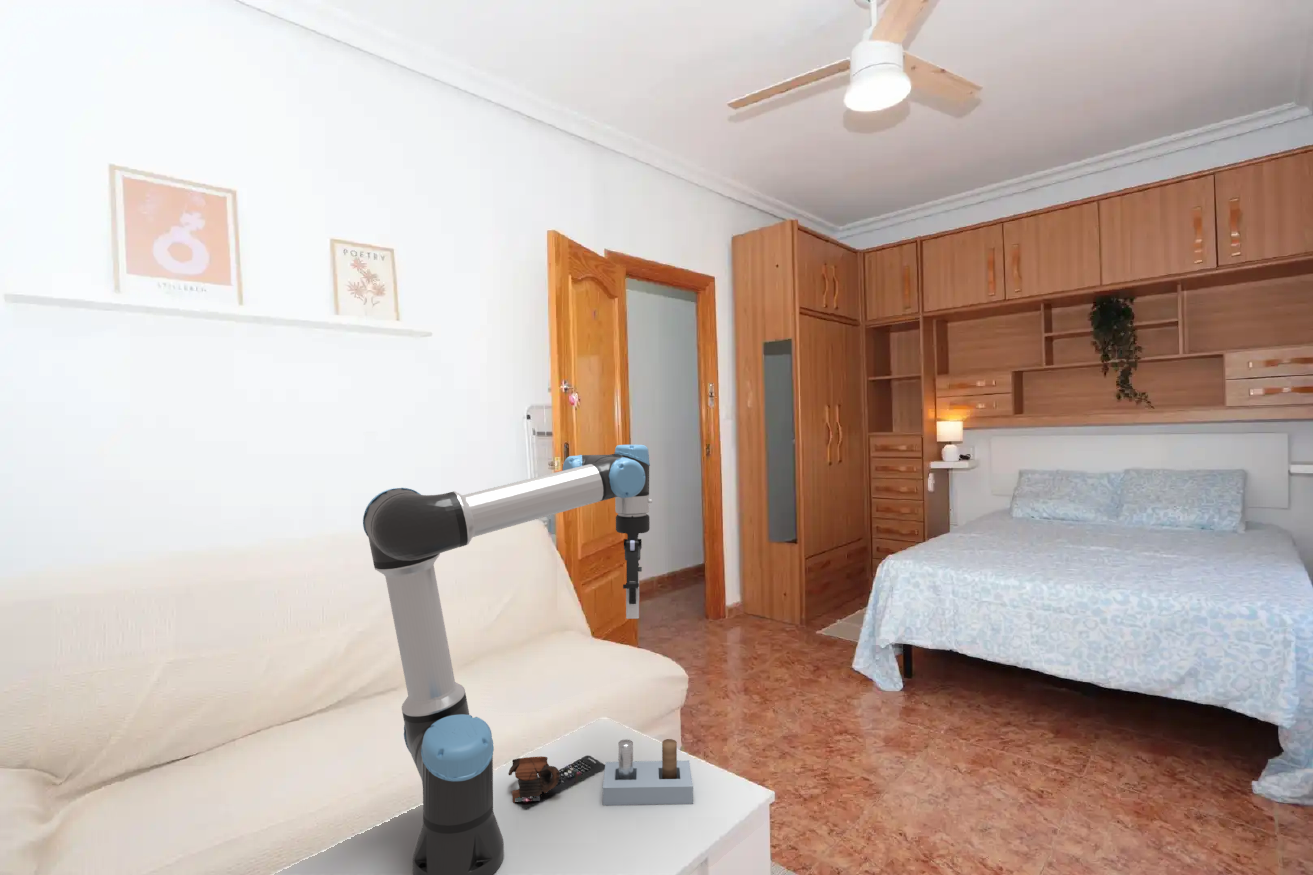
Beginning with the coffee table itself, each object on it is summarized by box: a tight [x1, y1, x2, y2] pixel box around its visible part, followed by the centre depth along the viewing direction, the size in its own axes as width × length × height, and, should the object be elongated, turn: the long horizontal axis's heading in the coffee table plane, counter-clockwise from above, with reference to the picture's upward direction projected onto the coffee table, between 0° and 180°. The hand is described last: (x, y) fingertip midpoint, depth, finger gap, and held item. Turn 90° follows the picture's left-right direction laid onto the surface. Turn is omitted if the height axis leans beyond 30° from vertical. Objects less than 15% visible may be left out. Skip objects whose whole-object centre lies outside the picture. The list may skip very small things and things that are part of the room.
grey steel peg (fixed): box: [618, 738, 634, 780], centre depth 135 cm, size 3×3×10 cm
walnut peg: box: [661, 738, 678, 779], centre depth 135 cm, size 3×3×10 cm
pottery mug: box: [507, 756, 561, 804], centre depth 135 cm, size 12×10×8 cm
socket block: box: [602, 759, 694, 806], centre depth 135 cm, size 18×10×4 cm, turn 91°
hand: (633, 609), depth 145 cm, fingers open, 13 cm apart
